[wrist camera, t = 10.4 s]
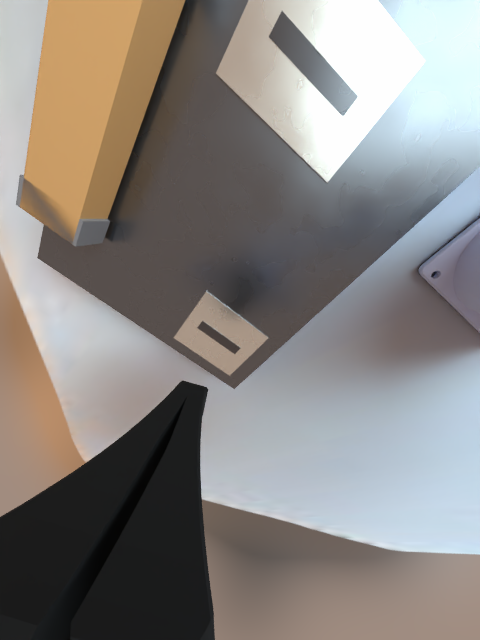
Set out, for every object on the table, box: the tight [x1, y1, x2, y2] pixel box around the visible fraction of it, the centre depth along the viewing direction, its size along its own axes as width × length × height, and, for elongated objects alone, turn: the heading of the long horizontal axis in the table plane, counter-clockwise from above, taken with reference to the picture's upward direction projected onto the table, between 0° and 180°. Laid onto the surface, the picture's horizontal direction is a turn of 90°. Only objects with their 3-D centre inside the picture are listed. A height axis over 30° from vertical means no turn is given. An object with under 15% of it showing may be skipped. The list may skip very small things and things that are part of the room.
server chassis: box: [38, 0, 480, 389], centre depth 12 cm, size 18×22×3 cm
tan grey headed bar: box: [16, 0, 185, 247], centre depth 9 cm, size 15×4×2 cm, turn 143°
